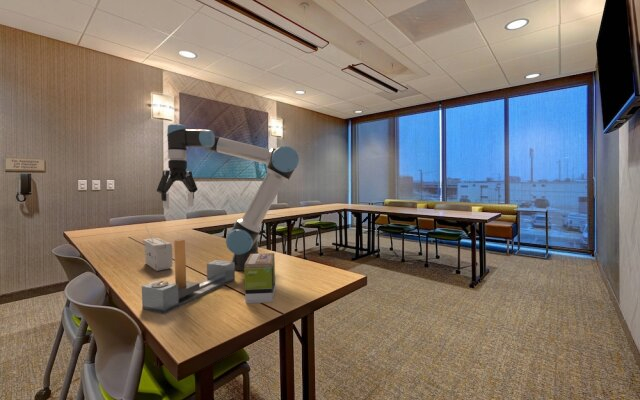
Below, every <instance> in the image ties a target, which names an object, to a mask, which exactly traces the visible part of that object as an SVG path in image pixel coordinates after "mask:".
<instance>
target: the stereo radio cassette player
mask: <svg viewBox="0 0 640 400" xmlns="http://www.w3.org/2000/svg"><path fill="white" fill-rule="evenodd" d="M145 228H146V230H147V233H148V235H149V238H146V239H145V238H144V239H142V243H143V244H144V256H145V258H144V259H145V260H144V261H145V264H146V265H147V266H148V267H150V268H152V269H153V270H154V271H156V272H159V271H164V270H170V269H171V268H172V267H173V245H172V243H171V242H168V241H166V240H164V239H162V238H159V237H152V234H151V233H150V232H149V229H148V228H147V227H145Z"/></svg>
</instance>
